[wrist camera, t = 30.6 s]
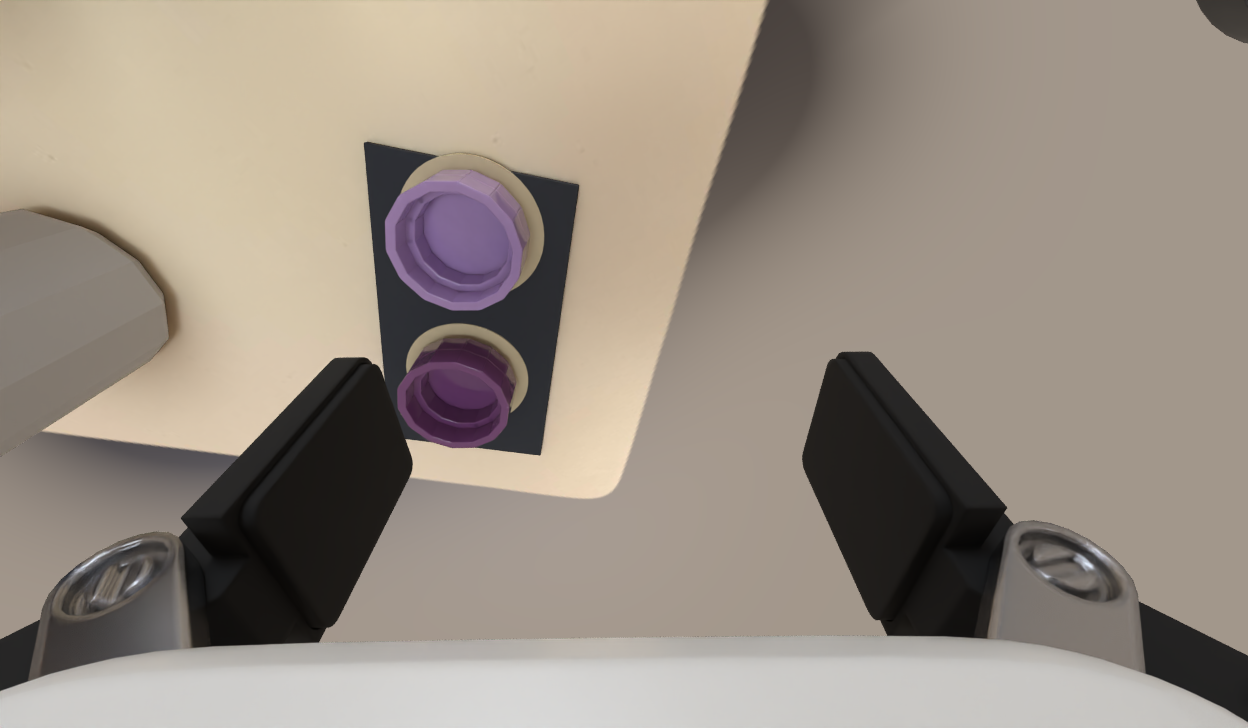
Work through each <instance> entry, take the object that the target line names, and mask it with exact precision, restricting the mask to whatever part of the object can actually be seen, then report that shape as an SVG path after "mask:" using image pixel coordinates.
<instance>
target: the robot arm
mask: <svg viewBox="0 0 1248 728" xmlns="http://www.w3.org/2000/svg"><path fill="white" fill-rule="evenodd" d="M802 460H803V468H804V470H805V473H806V475H807V477H808V479H809V482H810V484H811V486H812V488H813V490H814V493H815V495H816V497H817V499H818V502H819V504H820V506H821V508H822V510H823V513H824V515H825V517H826V519H827V521H828V524H829V526H830V528H831V530H832V532H833V535H834V537H835V539H836V541H837V543H838V546H839V548H840V550H841V552H842V555H843V557H844V559H845V561H846V563H847V565H848V568H849V570H850V572H851V574H852V576H853V579H854V581H855V583H856V586H857V588H858V590H859V592H860V594H861V596H862V599H863V601H864V603H865V605H866V608H867V610H868V612H869V613H870V615H871V616H872V617H873V618H874V619H875V620H880V621H881V623H882V625H883V627H884V629H885V631H886V634H887V636H735V637H734V636H731V637H729V636H725V637H639V638H638V637H635V638H633V637H632V638H558V639H557V638H556V639H491V640H489V639H488V640H432V641H379V642H326V643H319V641H320V639H321V637H322V635H323V633H324V632H325V629H326V628H327V627H331V626H333V625H334V624H335V622H336V621H337V620H338V618H339V616H340V614H341V612H342V610H343V608H344V606H345V604H346V602H347V600H348V598H349V596H350V594H351V592H352V590H353V588H354V586H355V584H356V582H357V581H358V579H359V577H360V574H361V573H362V570H363V568H364V566H365V564H366V563H367V561H368V559H369V557H370V555H371V553H372V551H373V548H374V547H375V545H376V543H377V541H378V539H379V537H380V535H381V533H382V531H383V529H384V527H385V525H386V523H387V521H388V519H389V517H390V515H391V513H392V511H393V509H394V507H395V505H396V503H397V501H398V499H399V497H400V495H401V493H402V491H403V489H404V487H405V485H406V483H407V481H408V479H409V477H410V475H411V472H412V465H413V463H412V457H411V454H410V451H409V448H408V446H407V443H406V440H405V437H404V434H403V431H402V429H401V426H400V423H399V420H398V417H397V415H396V412H395V409H394V406H393V403H392V401H391V398H390V395H389V392H388V389H387V386H386V384H385V381H384V378H383V375H382V372H381V370H380V368H379V367H378V366H377V365H375V364H372V363H371V361H370V360H369V359H367V358H365V357H358V358H335V359H333V360H332V361H331V362H330V363H329V364H328V365H327V366H326V367H325V368H324V369H323V370H322V371H321V372H320V373H319V374H318V375H317V376H316V377H315V378H314V379H313V380H312V381H311V382H310V383H309V385H308V386H307V387H306V388H305V389H304V390H303V391H302V392H301V393H300V394H299V395H298V396H297V397H296V398H295V399H294V400H293V401H292V402H291V403H290V404H289V405H288V406H287V407H286V409H285V410H284V411H283V412H282V413H281V414H280V415H279V416H278V417H277V418H276V419H275V420H274V421H273V422H272V423H271V424H270V425H269V426H268V427H267V428H266V429H265V430H264V431H263V433H262V434H261V435H260V436H259V437H258V438H257V439H256V440H255V441H254V442H253V443H252V444H251V445H250V446H249V447H248V448H247V449H246V450H245V451H244V452H243V453H242V454H241V455H240V457H239V458H238V459H237V460H236V461H235V462H234V463H233V464H232V465H231V466H230V467H229V468H228V469H227V470H226V471H225V472H224V473H223V474H222V475H221V476H220V477H219V478H218V479H217V481H216V482H215V483H214V484H213V485H212V486H211V487H210V488H209V489H208V490H207V491H206V492H205V493H204V494H203V495H202V496H201V497H200V498H199V499H198V500H197V502H195V503H194V505H193V506H192V507H191V508H190V509H189V510H188V511H187V512H186V513H185V514H184V515H183V516H182V517H181V519H182V520H183V522H184V523H185V524H186V526H187V527H188V528H187V529H186V530H185V531H184V532H183V533H182V535H181V536H180V537H177V536H175V535H173V534H172V533H169V532H151V533H145V534H140V535H137V536H133V537H130V538H127V539H124V540H122V541H119V542H117V543H115V544H113V545H111V546H109V547H107V548H105V549H103V550H101V551H99V552H97V553H95V554H94V555H92V556H91V557H90V558H88V559H86V560H85V561H83V562H82V563H80V564H79V565H77V566H76V567H75V568H74V569H73V570H72V571H70V572H69V573H68V574H67V575H66V576H64V577H63V578H62V579H61V580H60V581H59V583H58V584H57V585H56V586H55V587H54V589H53V590H52V591H51V592H50V593H49V595H48V597H47V599H46V601H45V604H44V606H43V608H42V613H41V618H40V620H38V621H36V622H34V623H33V624H30V625H28V626H26V627H24V628H22V629H20V630H18V631H16V632H14V633H12V634H10V635H9V636H6V637H4V638H2V639H0V728H1248V656H1247V655H1245V654H1243V653H1241V652H1239V651H1237V650H1235V649H1233V648H1231V647H1229V646H1227V645H1225V644H1223V643H1221V642H1219V641H1217V640H1215V639H1213V638H1211V637H1209V636H1207V635H1205V634H1203V633H1201V632H1199V631H1197V630H1195V629H1193V628H1191V627H1189V626H1187V625H1185V624H1183V623H1181V622H1179V621H1177V620H1175V619H1173V618H1171V617H1169V616H1167V615H1165V614H1163V613H1161V612H1159V611H1157V610H1155V609H1153V608H1151V607H1149V606H1147V605H1145V604H1143V603H1141V602H1139V601H1138V593H1137V590H1136V587H1135V584H1134V582H1133V580H1132V578H1131V577H1130V575H1129V574H1128V573H1127V572H1126V570H1125V569H1124V567H1123V566H1122V565H1121V564H1120V563H1119V562H1118V561H1117V560H1116V559H1114V558H1113V557H1112V556H1111V555H1110V554H1109V553H1108V552H1106V551H1105V550H1104V549H1102V548H1101V547H1099V546H1098V545H1096V544H1095V543H1094V542H1092V541H1091V540H1089V539H1087V538H1085V537H1083V536H1081V535H1079V534H1077V533H1075V532H1073V531H1071V530H1069V529H1066V528H1064V527H1060V526H1058V525H1055V524H1052V523H1047V522H1039V521H1034V520H1033V521H1021V522H1018V523H1016V524H1013V523H1012V522H1011V521H1010V519H1009V518H1008V517H1007V516H1006V515H1005V514H1004V512H1005V510H1006V509H1007V507H1006V506H1005V504H1004V503H1003V502H1002V501H1001V500H1000V499H999V498H998V496H997V495H996V494H995V493H994V492H993V491H992V489H991V488H990V487H989V486H988V485H987V484H986V483H985V482H984V480H983V479H982V478H981V477H980V476H979V475H978V473H977V472H976V471H975V470H974V469H973V468H972V466H971V465H970V464H969V463H968V462H967V461H966V460H965V458H964V457H963V456H962V455H961V454H960V453H959V451H958V450H957V449H956V448H955V447H954V446H953V445H952V443H951V442H950V441H949V440H948V439H947V438H946V437H945V435H944V434H943V433H942V432H941V431H940V430H939V429H938V427H937V426H936V425H935V424H934V423H933V422H932V420H931V419H930V418H929V417H928V416H927V415H926V414H925V412H924V411H923V410H922V409H921V408H920V407H919V405H918V404H917V403H916V402H915V401H914V400H913V399H912V397H911V396H910V395H909V394H908V393H907V392H906V391H905V389H904V388H903V387H902V386H901V385H900V384H899V382H898V381H897V380H896V379H895V378H894V377H893V376H892V375H891V373H890V372H889V371H888V370H887V369H886V368H885V366H884V365H883V364H882V363H881V362H880V361H879V359H878V358H877V357H876V356H875V355H874V354H873V353H871V352H841V353H839V354H838V356H837V357H836V359H832V360H830V361H829V363H828V365H827V368H826V371H825V375H824V379H823V383H822V386H821V389H820V393H819V397H818V400H817V404H816V407H815V411H814V415H813V418H812V422H811V426H810V429H809V433H808V436H807V440H806V443H805V447H804V451H803V455H802Z"/></svg>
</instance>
